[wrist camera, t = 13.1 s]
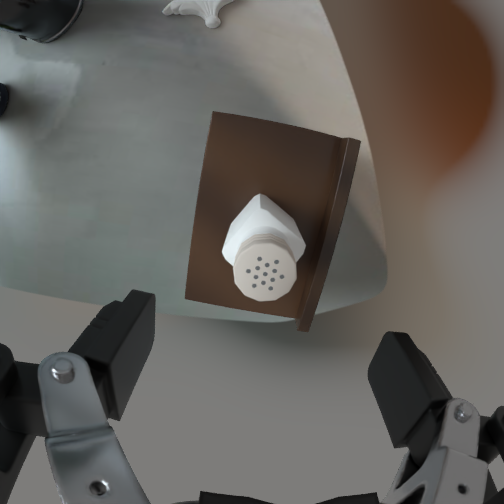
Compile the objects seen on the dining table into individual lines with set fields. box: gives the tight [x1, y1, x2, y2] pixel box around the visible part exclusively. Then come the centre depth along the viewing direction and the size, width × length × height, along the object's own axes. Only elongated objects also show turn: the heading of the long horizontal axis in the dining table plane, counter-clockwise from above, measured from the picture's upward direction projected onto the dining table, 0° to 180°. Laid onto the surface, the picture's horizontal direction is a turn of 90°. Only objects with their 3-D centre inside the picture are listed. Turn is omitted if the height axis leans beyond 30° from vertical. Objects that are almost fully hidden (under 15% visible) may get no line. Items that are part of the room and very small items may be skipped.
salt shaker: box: [222, 194, 306, 301], centre depth 19 cm, size 4×4×10 cm
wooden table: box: [185, 111, 361, 332], centre depth 28 cm, size 16×11×12 cm
